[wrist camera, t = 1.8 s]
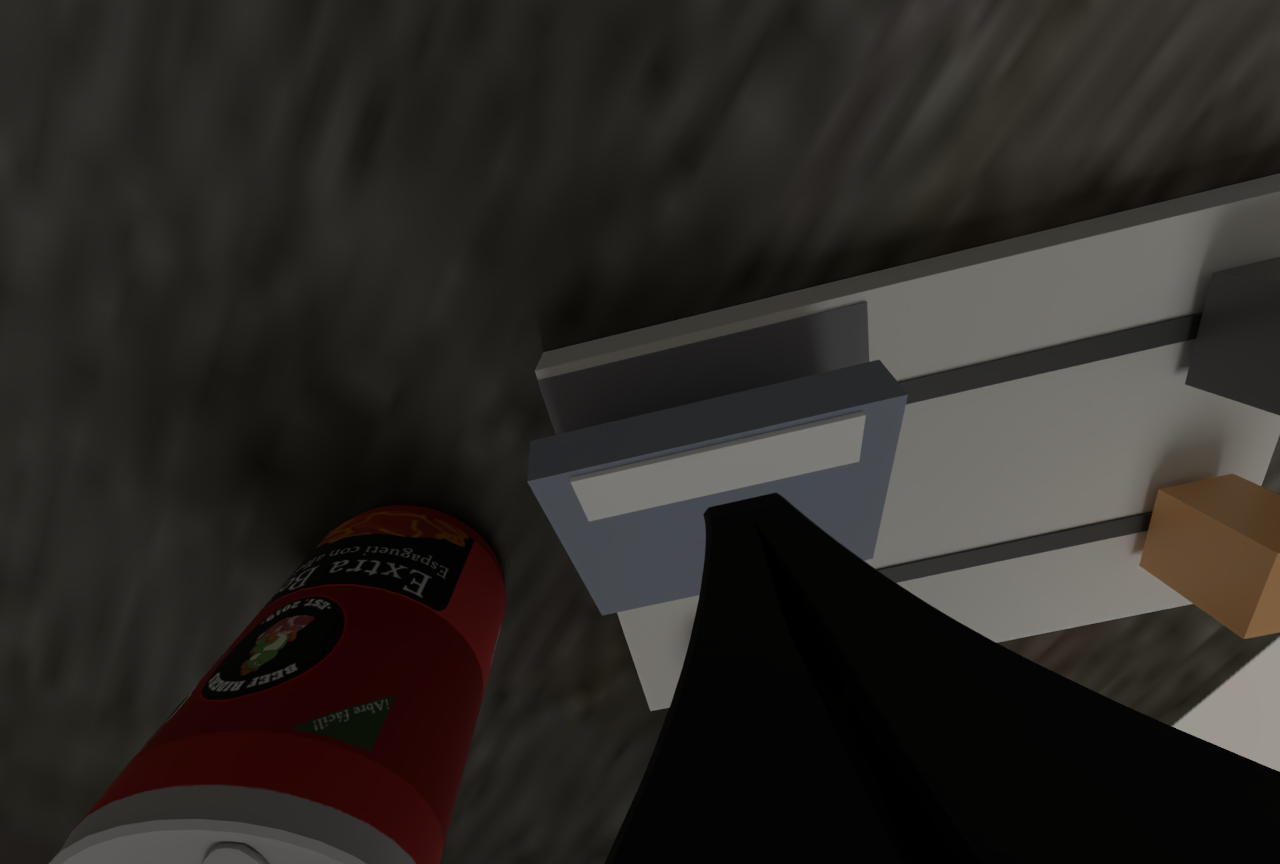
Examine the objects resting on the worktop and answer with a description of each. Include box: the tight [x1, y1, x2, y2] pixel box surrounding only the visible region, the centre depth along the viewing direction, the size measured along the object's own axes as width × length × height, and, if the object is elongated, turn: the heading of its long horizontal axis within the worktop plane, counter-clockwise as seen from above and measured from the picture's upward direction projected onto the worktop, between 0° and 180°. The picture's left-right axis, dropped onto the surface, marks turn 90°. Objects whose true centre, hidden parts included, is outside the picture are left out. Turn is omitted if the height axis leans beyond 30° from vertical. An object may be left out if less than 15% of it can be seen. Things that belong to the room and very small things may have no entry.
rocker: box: [527, 359, 908, 616], centre depth 14 cm, size 7×9×2 cm
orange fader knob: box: [1139, 473, 1280, 639], centre depth 17 cm, size 4×2×4 cm
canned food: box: [49, 505, 506, 864], centre depth 16 cm, size 8×8×11 cm
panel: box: [535, 173, 1280, 711], centre depth 18 cm, size 16×24×4 cm, turn 103°
